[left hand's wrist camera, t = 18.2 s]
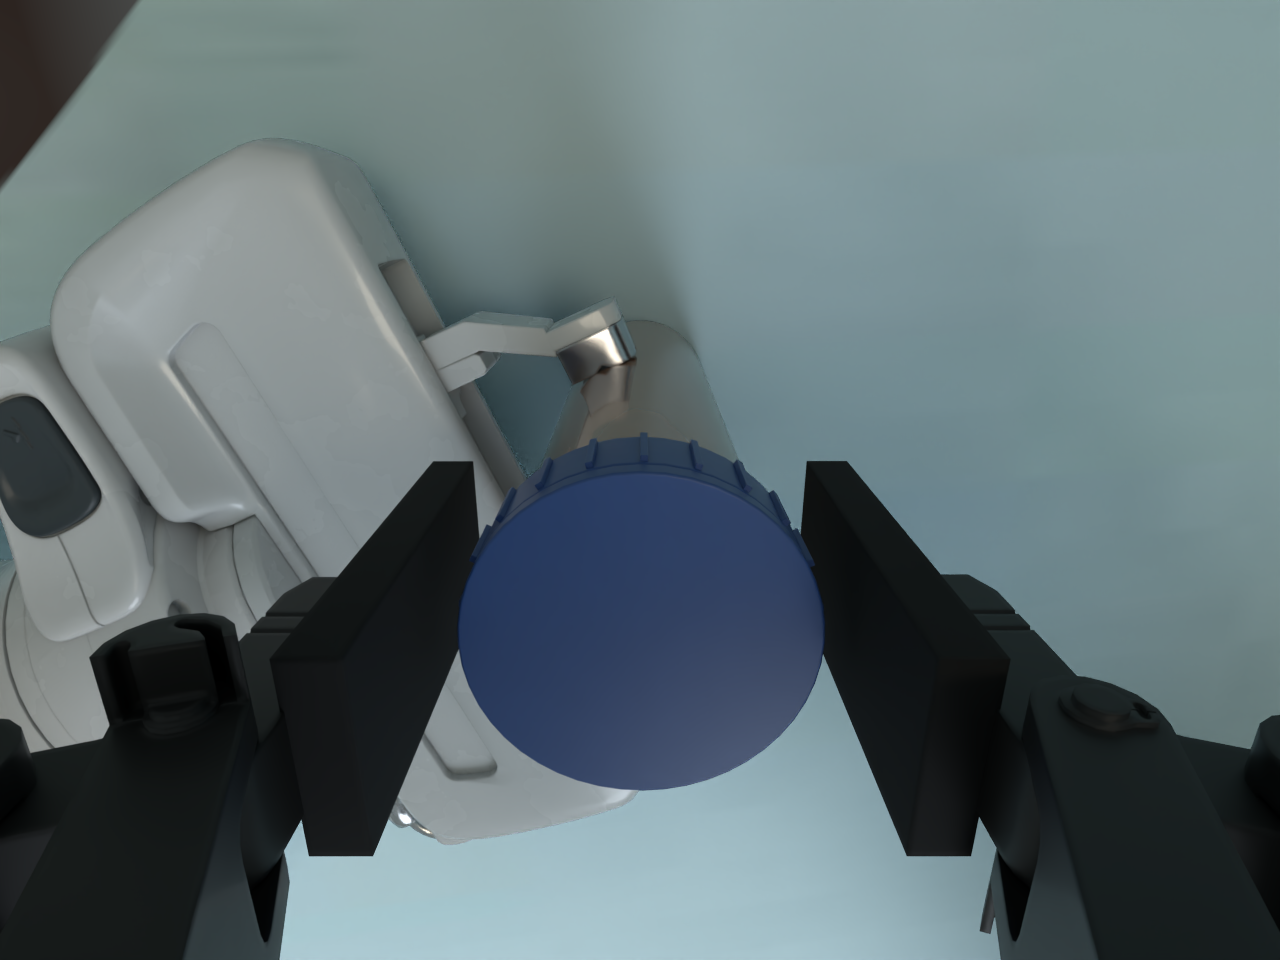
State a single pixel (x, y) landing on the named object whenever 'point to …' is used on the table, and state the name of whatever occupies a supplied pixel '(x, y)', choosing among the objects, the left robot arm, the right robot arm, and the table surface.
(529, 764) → the right robot arm
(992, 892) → the left robot arm
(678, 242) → the table surface
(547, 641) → the lid
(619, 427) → the jar
